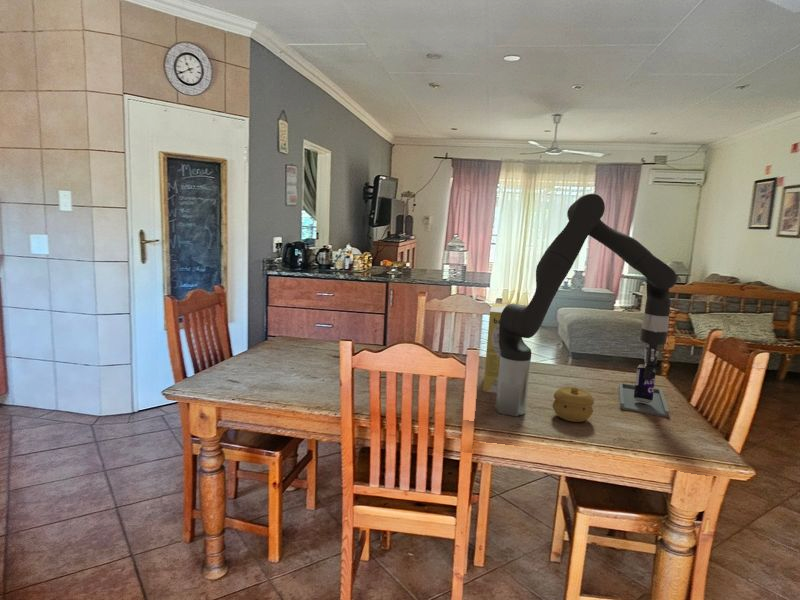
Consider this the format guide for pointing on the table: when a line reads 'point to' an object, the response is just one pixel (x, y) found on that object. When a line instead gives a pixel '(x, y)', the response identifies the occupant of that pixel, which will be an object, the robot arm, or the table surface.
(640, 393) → the beverage can
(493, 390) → the pasta box
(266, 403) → the table surface
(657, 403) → the gray tray
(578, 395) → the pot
